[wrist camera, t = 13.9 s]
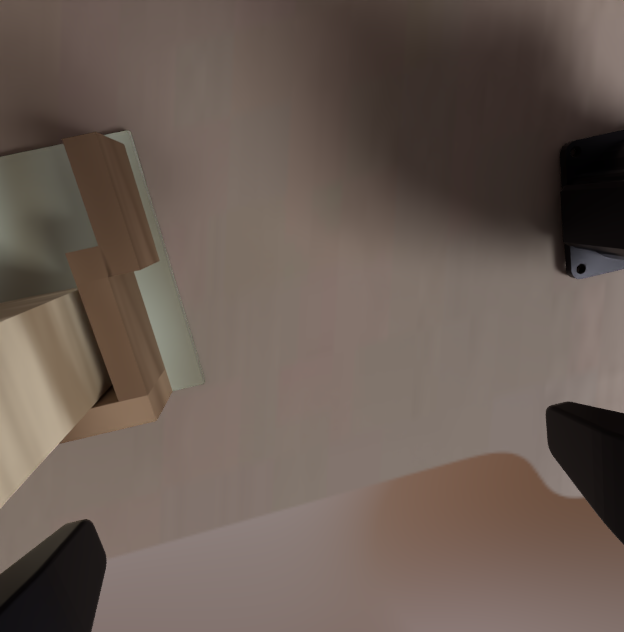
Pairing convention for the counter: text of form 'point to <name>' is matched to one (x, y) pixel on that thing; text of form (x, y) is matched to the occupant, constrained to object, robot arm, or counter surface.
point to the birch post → (44, 379)
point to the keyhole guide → (99, 268)
